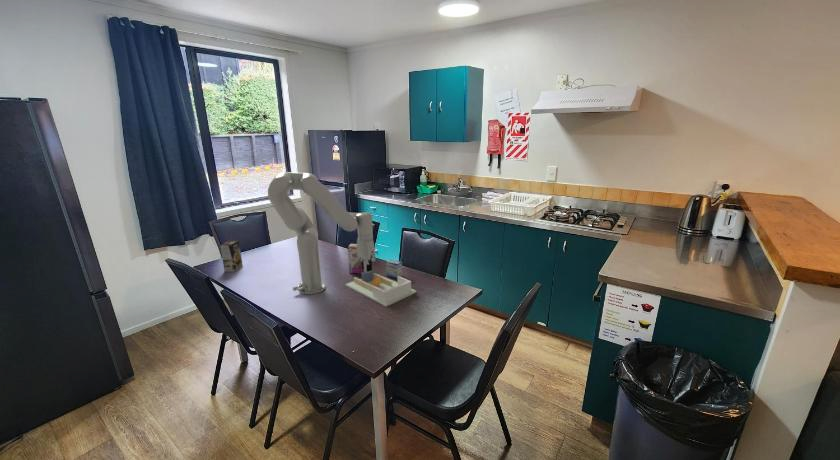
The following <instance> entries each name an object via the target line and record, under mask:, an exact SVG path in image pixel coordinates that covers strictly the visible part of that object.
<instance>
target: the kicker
mask: <svg viewBox="0 0 840 460" xmlns="http://www.w3.org/2000/svg"><path fill="white" fill-rule="evenodd" d="M363 261H364V272H363V273H361V274H360V275H361V278H362V281H364V282H368V281H370V280H373V273H374V271H373V270H372V271H369V272H367V267H366V265H367V260H365V259H363ZM369 261H370V260H369Z"/></svg>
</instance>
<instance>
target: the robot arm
mask: <svg viewBox="0 0 840 460" xmlns="http://www.w3.org/2000/svg"><path fill="white" fill-rule="evenodd" d="M290 190H291V191H295V190H296V191H303V193H305V194H306V196H308V197H309V198H310V199H311V200H312V201H314V203H316V204H317V205H318V206H319V207H320V208H321V209H322V210H323V211H324V212H325V213H326V214H327V215H328V216H329V217H330V219H332V220H333V221H334V222H335V223H336V224H337V225H338V226H339V227H341V228H342V229H343V230H344V231H346V232H353V231H356V230H357V239H356V244H357V256H358V257H360V259H361V262H362V270H364V261H363V259H365V260H367V265H366V267H367V272H369V271H373V263H374V262H376V249H375V242H374V234H373V215H372V213H371V212H367V211H365V212H349V211H347V209H345V207H343V206H342V204H341V203H340V201H339V199H337V197H336V195H335V194H334V193H332V192H331V191H330V190H329V189H328V188H327V187H326V186H325V185H324V184H322V183H321V182H320V181H319V179H318V177H317V176H316V175H315V174H313V173H309V172H292V171H289V172H288V171H282V172H280V173H278V174H277V175H275V176H274V178H272V180H271V182H270V183H269V186H268V188H267V197H268V199H269V202H270V203H271V205H272V207H273V209H275V211H276V212H277V214H278V215H279V217H280V218H281V220H282V221H283V222H284V225H285V226H286V227H287V228H288V229H289V230H291V231H293V232H294V231H295V233H296V234H297V238H296V246H297V251H298V258H299V259H298V260H299V267H300V268H299V269H300V276H301V277H300V278H301V281H299V284H298V285H296V286H292V290H293V292H296V291H298V292H299V293H300V294H303V295H316V294H319V293H321V292H323V291H325V289H326V285H325V283H324V282H322V274H321V272H322V271H321V262H320V261H321V260H320V251H319V232H318V229H317V228H316V226H315V225H314V223H313V222H312V220H311V218H310V217H309V216H308V214H307V213H306V211H305V210H304V209H302V208H301V207H297V206H296V205H295V203H294V202H293V200H292V199H291V197H290V196H289V192H290ZM369 260H370V261H369Z"/></svg>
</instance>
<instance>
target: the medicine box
mask: <svg viewBox="0 0 840 460" xmlns="http://www.w3.org/2000/svg"><path fill="white" fill-rule="evenodd" d="M385 264H386V265H385V266H386V268H385V272H386V276H387V278H393V279H397V277H398V276H400V277H403V262H402V261H400V260H394V259H388V260H387V261H385Z"/></svg>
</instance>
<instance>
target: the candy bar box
mask: <svg viewBox="0 0 840 460" xmlns="http://www.w3.org/2000/svg"><path fill="white" fill-rule="evenodd" d="M347 249H348V251H347V252H348V269H349V274H359V275H361V273H363V272H364V270H362V262H361V259H360V257H358V256H357V243H350V244H349V245H348V247H347Z"/></svg>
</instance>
